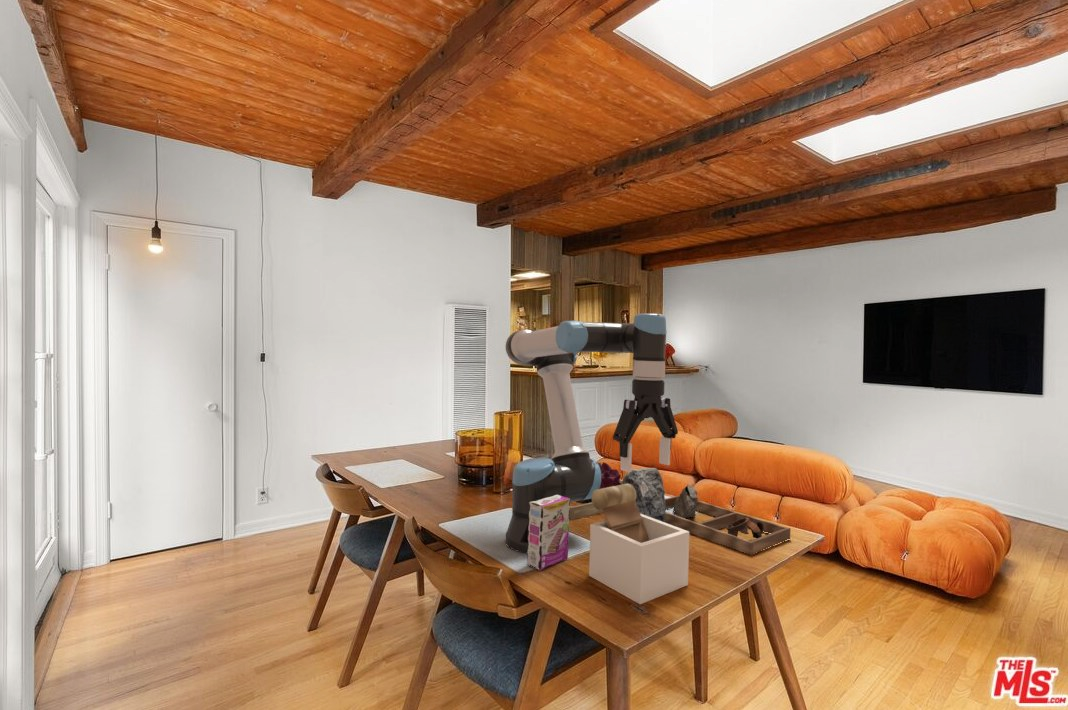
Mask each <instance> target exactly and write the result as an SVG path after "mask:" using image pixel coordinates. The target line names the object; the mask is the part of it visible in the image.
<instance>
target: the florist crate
mask: <svg viewBox="0 0 1068 710" xmlns="http://www.w3.org/2000/svg"><path fill="white" fill-rule="evenodd" d="M619 482H620V483H622V484H623V479H621V478H620V481H619ZM599 514H604V513H603V510H597V509H596V508H595V507H594V505H593V503H592V502H591V503H582V504H579V505H570V513H569V521H570V520H571V521H573V520H579V519H581V518H587V517H590V516H594V515H595V516H596V515H599Z"/></svg>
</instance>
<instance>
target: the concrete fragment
mask: <svg viewBox="0 0 1068 710" xmlns="http://www.w3.org/2000/svg"><path fill="white" fill-rule="evenodd" d="M679 495H680V496H679ZM679 495H678V496H679V498H677V499H676V500H675V503H674V509H673V511H675V512H676V513H677V514H678V515H679V517H682V518H685V519H686V518H687V519H690V518H689V517H693V518H692V519H695V518H696V512H697V511H696V506H697V503H698V500H699V499H698V491H697V490H696V488H695V487H694V486H693V485H689V484H687V485H686V486H685V487H684V488H682V489H681V492H680V494H679ZM675 512H674V513H675ZM676 513H675V514H676ZM677 514H676V515H677ZM678 515H677V516H678Z"/></svg>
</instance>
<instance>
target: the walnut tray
mask: <svg viewBox="0 0 1068 710" xmlns="http://www.w3.org/2000/svg"><path fill="white" fill-rule="evenodd" d="M679 496H680V494H679V495H675V496H671V497H667V498H666V497H665V501H666V509H667V510H669V509H668V508H671V509H673V508H672V507H674V503H675V500H676V499H677V498H679ZM697 500H698V503H697V506H696V510H697V511H696V512H698V511H700V512H699V513H701V512H703V513H702V514H705V515H708V516H711V517H714V516H715V517H714V518H709V519H707V520H704V521H700V522H697V521H693V520H690V519H689V518H687V519H685V518H682V517H680V516H678V515H677V514H673V513H670V512H666V511H665V514H666V519H665V523H667V524H670V525H673V526H676V527H678V528H681V529H684V530H686V531H689V534H690V535H694V536H697V537H699V538H702V539H706V540H708V541H710V542H713V543H715V542H716V544H718V543H719V545H721V544H722V546H724V545H725V546H724V547H726V546H727V548H729V547H730V549H732V548H733V549H732V550H734V549H736V550H735V551H737V550H739V551H738V552H740V551H741V553H742V552H744V553H743V554H745V553H747V554H746V555H748V554H750V555H749V556H751V555H752V554H754V553H756V552H759V551H761V550H763V549H766V548H768V547H770V546H773V545H775V544H778V543H780V542H783V541H785V540H787V539H790V540H791V527H788V526H784V525H780V524H777V523H774V522H770V521H767V520H764V519H761V518H757V517H754V516H751V515H747V514H744V513H741V512H738V511H734V510H731V509H728V508H724V507H721V506H717V505H715V504H711V503H708V502H705V501H702V500H699V499H697ZM742 518H749V520H750V521H751V522H752V521H753V520H760V521H761V522H762V523H763V526H764V530H763V531H764V532H768V533H771V534H764V535H762V537H760V538H754V539H752V540H748V539H746V538H743V537H740V536H738V535H737V536H734V535H731V534H728V532H725V531H722V529H725V528H726V527H727V526H728V525H729V524H730V525H731V526H733V525H732V523H733V522H735V521H737V520H739V519H742ZM721 528H722V529H721ZM759 553H760V552H759ZM754 555H755V554H754ZM752 556H753V555H752Z"/></svg>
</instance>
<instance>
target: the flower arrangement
mask: <svg viewBox="0 0 1068 710" xmlns="http://www.w3.org/2000/svg"><path fill="white" fill-rule="evenodd" d="M597 464H598V465H599V467H600V470H601V485H600V488H599V489H602V488H607V487H612V486H617V485H622V483H620V482H619V481H620V479H621V476H622V475H621V474H620V473H619V470H618V469H614V468H613V469H612V467H611V465H610V464H608V463H607V462H604V461H603V462H602V464H601V462H597ZM582 502H583V503H584V504H587V503H591V502H592V498H591V499H586V500H583V501H582Z"/></svg>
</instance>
